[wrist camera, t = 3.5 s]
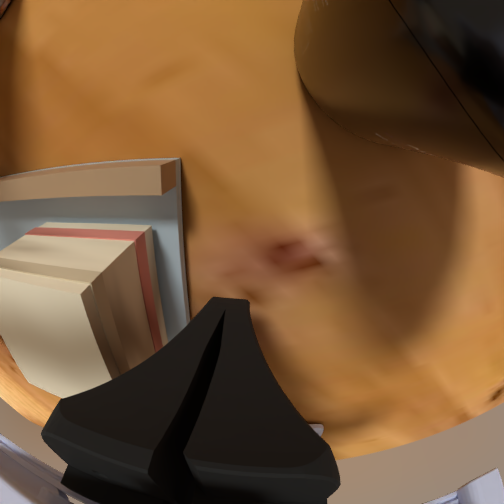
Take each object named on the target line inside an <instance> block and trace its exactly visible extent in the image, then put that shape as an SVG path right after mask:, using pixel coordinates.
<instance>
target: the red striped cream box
mask: <svg viewBox="0 0 504 504" xmlns="http://www.w3.org/2000/svg"><path fill="white" fill-rule="evenodd" d="M0 334H1V336H2V338H3V340H4V342H5V344H6V346H7V348H8V349H9V351H10V353H11V355H12V357H13V358H14V360H15V362H16V363H17V365H18V367H19V368H20V370H21V372H22V373H23V375H24V376H25V378H26V379H27V381H28V382H29V383H31V384H33V385H35V386H37V387H39V388H41V389H43V390H45V391H47V392H49V393H51V394H54V395H56V396H58V397H61V398H66V397H69V396H72V395H75V394H78V393H81V392H84V391H87V390H90V389H92V388H95V387H97V386H99V385H102V384H104V383H106V382H108V381H110V380H112V379H114V378H116V377H118V376H120V375H122V374H124V373H125V372H127V371H129V370H130V369H132V368H134V367H136V366H137V365H139V364H140V363H142V362H143V361H145V360H146V359H148V358H149V357H150V356H152V355H153V354H155V353H156V352H157V351H159V350H160V349H161V348H162V347H163V346H165V345H166V344H167V343H168V338H167V333H166V327H165V322H164V316H163V310H162V304H161V297H160V291H159V284H158V277H157V269H156V261H155V253H154V244H153V234H152V225H132V224H101V223H57V222H46V223H44V224H43V225H41V226H39V227H35V228H33V229H32V230H30V231H28V232H27V233H25V235H24V236H23V237H21V238H20V239H18V240H16V241H15V242H13V243H12V244H10V245H9V246H7V247H6V248H4V249H3V250H1V251H0Z"/></svg>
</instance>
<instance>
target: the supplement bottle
mask: <svg viewBox="0 0 504 504" xmlns="http://www.w3.org/2000/svg"><path fill="white" fill-rule="evenodd" d="M294 53H295V60H296V64H297V68H298V71H299V74H300V76H301V78H302V81H303V83H304V85H305V87H306V88H307V90H308V92H309V93H310V95H311V96H312V98H313V99H314V100H315V102H316V103H317V104H318V106H319V107H320V108H321V109H322V110H323V111H324V112H325V113H326V114H327V115H328V116H329V117H330V118H331V119H333V120H334V121H335V122H336V123H338V124H339V125H340V126H342V127H343V128H345V129H346V130H348V131H350V132H351V133H353V134H355V135H357V136H360V137H362V138H364V139H367V140H370V141H372V142H376V143H380V144H384V145H388V146H393V147H397V148H402V149H407V150H411V151H416V152H420V153H424V154H428V155H432V156H436V157H440V158H444V159H448V160H451V161H455V162H458V163H461V164H465V165H468V166H471V167H474V168H478V169H481V170H484V171H487V172H489V173H492V174H495V175H498V176H501V177H503V178H504V0H303V2H302V6H301V9H300V13H299V16H298V20H297V25H296V29H295V36H294Z"/></svg>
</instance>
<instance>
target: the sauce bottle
mask: <svg viewBox="0 0 504 504" xmlns="http://www.w3.org/2000/svg"><path fill="white" fill-rule="evenodd" d="M10 1H11V0H0V18H1V16H2V15H3V13H4V11H5V10H6V8H7V6H8V4H9V3H10Z"/></svg>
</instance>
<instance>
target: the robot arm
mask: <svg viewBox="0 0 504 504" xmlns="http://www.w3.org/2000/svg"><path fill="white" fill-rule="evenodd" d="M323 431H324V427H323V425H321V424H308V423H307V422H306V421H305V419H304V418H303V417H302V416H301V415H300V414H299V412H298V411H297V410H296V408H295V407H294V406H293V404H292V403H291V402H290V400H289V399H288V397H287V396H286V395H285V393H284V392H283V390H282V389H281V387H280V386H279V384H278V382H277V381H276V379H275V377H274V376H273V374H272V372H271V370H270V368H269V366H268V364H267V362H266V360H265V358H264V356H263V353H262V351H261V349H260V346H259V344H258V341H257V338H256V335H255V332H254V329H253V325H252V321H251V317H250V302H249V301H248V300H245V299H232V298H221V297H213V298H211V299H210V300H209V301H208V303H207V304H206V305H205V306H204V307H203V308H202V310H201V311H200V312H199V313H198V314H197V315H196V316H195V317H194V318H193V319H192V320H191V321H190V322H189V323H188V324H187V325H186V326H185V328H184V329H183V330H181V331H180V332H179V333H178V334H177V335H176V336H175V337H174V338H173V339H172V340H170V341H169V342H168V343H167V344H166V345H165V346H163V347H162V348H161V349H160V350H159V351H157V352H156V353H155V354H153V355H152V356H150V357H149V358H148V359H146V360H145V361H143V362H142V363H140V364H139V365H137V366H136V367H134V368H132V369H130V370H129V371H127V372H125V373H124V374H122V375H120V376H118V377H116V378H114V379H112V380H110V381H108V382H106V383H104V384H102V385H99V386H97V387H95V388H92V389H90V390H87V391H84V392H81V393H78V394H75V395H72V396H69V397H66V398H63V399H61V400H60V401H59V402H58V404H57V406H56V407H55V409H54V410H53V412H52V414H51V416H50V417H49V419H48V421H47V423H46V425H45V426H44V428H43V430H42V432H41V435H42V438H43V440H44V442H45V443H46V444H47V445H48V446H49V447H50V448H51V449H52V450H53V451H54V452H55V453H56V454H57V455H58V456H59V457H60V458H61V459H63V460H64V461H65V462H66V463H67V464H68V466H67V469H66V471H65V473H64V474H63V473H61V472H59V471H58V470H56V469H54V468H52V467H50V466H49V465H47V464H45V463H44V462H42V461H40V460H39V459H37V458H35V457H34V456H32V455H30V454H29V453H27V452H26V451H24V450H23V449H21V448H20V447H18V446H17V445H16V444H14V443H13V442H11V441H10V440H8V439H7V438H6V437H4V436H3V435H2V434H0V504H73V503H71V502H70V501H69V500H68V497H67V495H68V496H71V497H72V498H74V499H76V500H78V501H80V502H82V503H84V504H327V498H328V497H329V496H330V495H332V494H333V493H334V492H335V491H336V490H337V489H338V488H339V486H340V475H339V471H338V467H337V464H336V461H335V458H334V455H333V453H332V450H331V448H330V446H329V445H328V444H327V443H326V442H325V441H324V440H323V439H322V438H321V435H322V433H323ZM66 494H67V495H66ZM423 504H504V487H503V483H502V480H501V477H500V474H499V471H498V469H497V468H494V469H492V470H491V471H489V472H487V473H485V474H483V475H481V476H479V477H477V478H475V479H473V480H471V481H470V482H468V483H466V484H465V485H463V486H462V487H460V488H459V489H458V490H457V491H454V492H452V493H450V494H447V495H445V496H442V497H440V498H437V499H434V500H431V501H429V502H426V503H423Z"/></svg>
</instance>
